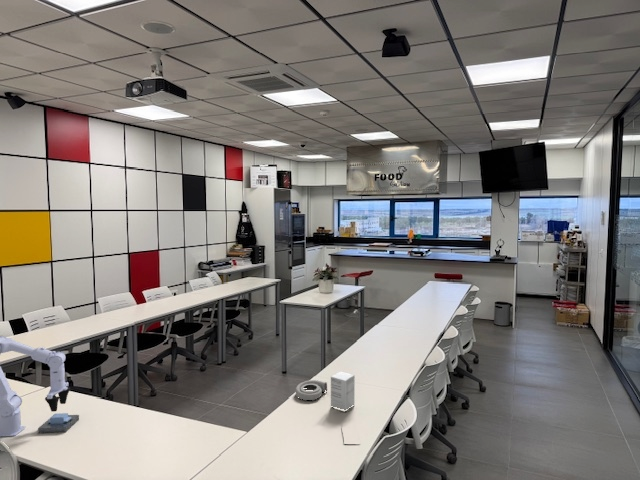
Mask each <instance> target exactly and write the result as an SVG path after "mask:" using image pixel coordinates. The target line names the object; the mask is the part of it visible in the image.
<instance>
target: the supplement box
mask: <svg viewBox="0 0 640 480" xmlns="http://www.w3.org/2000/svg"><path fill="white" fill-rule="evenodd" d="M352 405H354V406H355V374H352V373H348V372H344V371H338V372H337V373H335V374H333V375H332V376H330V407H331V406H333V407H337V408H340V409H344V410H346V409H348V408H349V407H351V406H352Z"/></svg>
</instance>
